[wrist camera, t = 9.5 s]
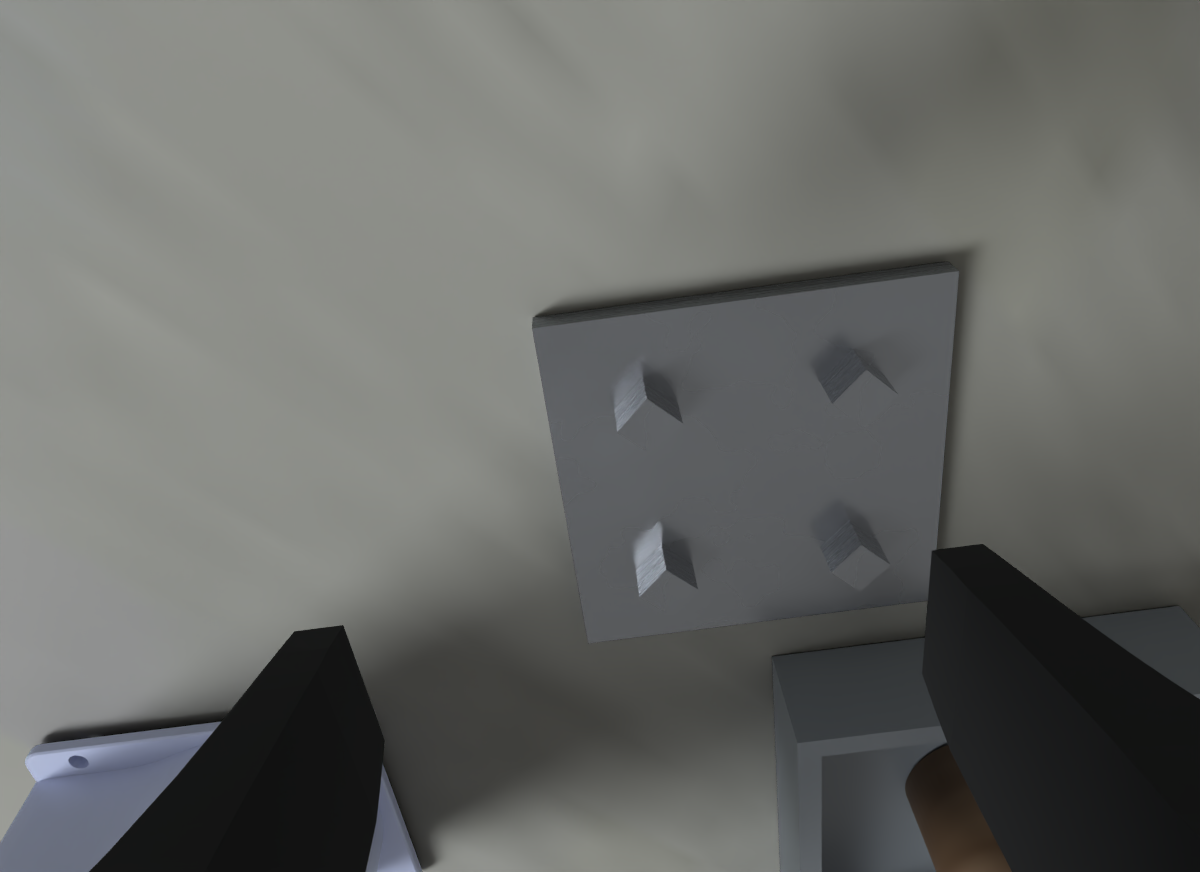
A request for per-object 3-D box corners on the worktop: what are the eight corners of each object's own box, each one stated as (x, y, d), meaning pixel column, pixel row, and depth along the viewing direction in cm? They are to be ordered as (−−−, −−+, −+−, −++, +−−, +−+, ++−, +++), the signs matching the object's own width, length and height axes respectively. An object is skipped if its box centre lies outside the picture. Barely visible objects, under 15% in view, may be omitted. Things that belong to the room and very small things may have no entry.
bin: (781, 897, 30) (802, 989, 28) (771, 656, 25) (797, 743, 22) (1112, 858, 30) (1164, 946, 28) (1179, 605, 25) (1253, 687, 22)
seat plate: (587, 627, 24) (589, 671, 23) (532, 317, 19) (531, 348, 18) (924, 585, 24) (947, 626, 22) (948, 261, 19) (979, 288, 18)
